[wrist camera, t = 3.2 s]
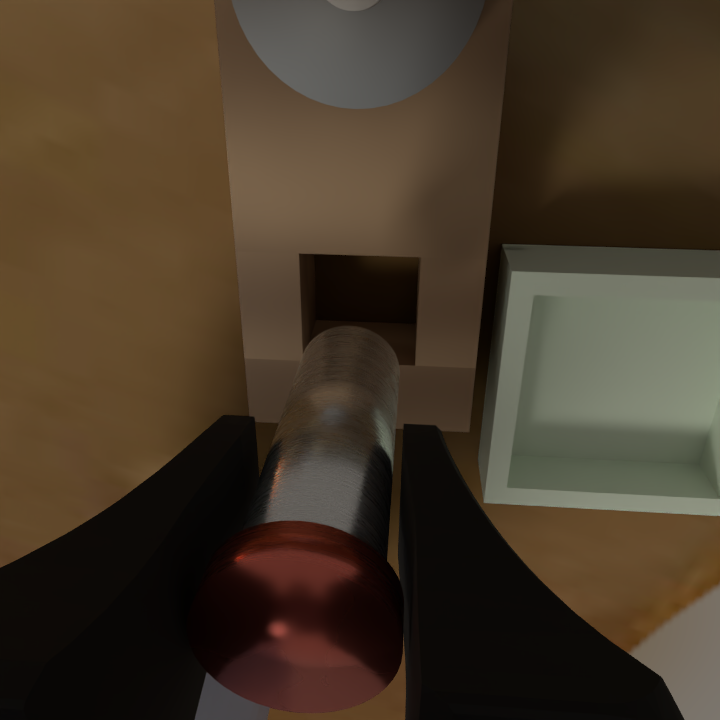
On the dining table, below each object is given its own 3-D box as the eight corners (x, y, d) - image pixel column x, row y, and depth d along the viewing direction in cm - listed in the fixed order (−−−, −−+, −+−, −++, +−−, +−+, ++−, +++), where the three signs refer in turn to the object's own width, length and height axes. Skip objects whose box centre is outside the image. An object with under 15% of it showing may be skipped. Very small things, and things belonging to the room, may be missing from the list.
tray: (707, 470, 24) (736, 516, 22) (477, 459, 25) (483, 502, 23) (776, 252, 20) (820, 281, 18) (501, 243, 21) (511, 271, 19)
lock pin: (409, 425, 17) (398, 721, 10) (291, 419, 17) (198, 703, 10) (415, 316, 15) (407, 572, 8) (285, 311, 15) (174, 555, 8)
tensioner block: (463, 384, 23) (475, 480, 19) (268, 376, 24) (231, 467, 19) (516, -191, 16) (559, -275, 11) (230, -188, 16) (154, -268, 12)
